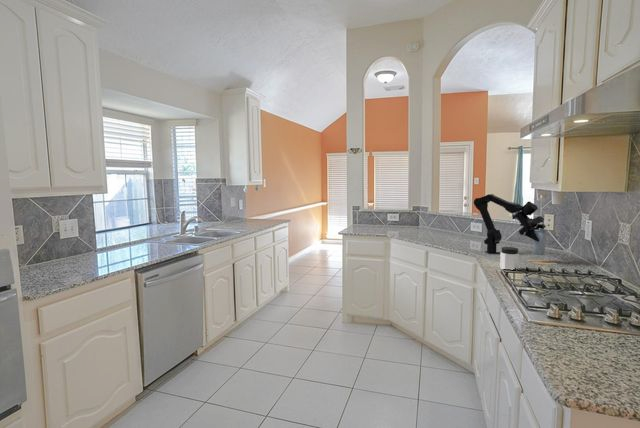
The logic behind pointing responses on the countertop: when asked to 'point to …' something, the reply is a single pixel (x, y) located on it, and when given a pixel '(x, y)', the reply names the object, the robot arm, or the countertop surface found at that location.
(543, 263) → the coaster
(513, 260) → the jar
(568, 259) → the countertop surface
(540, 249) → the canister
